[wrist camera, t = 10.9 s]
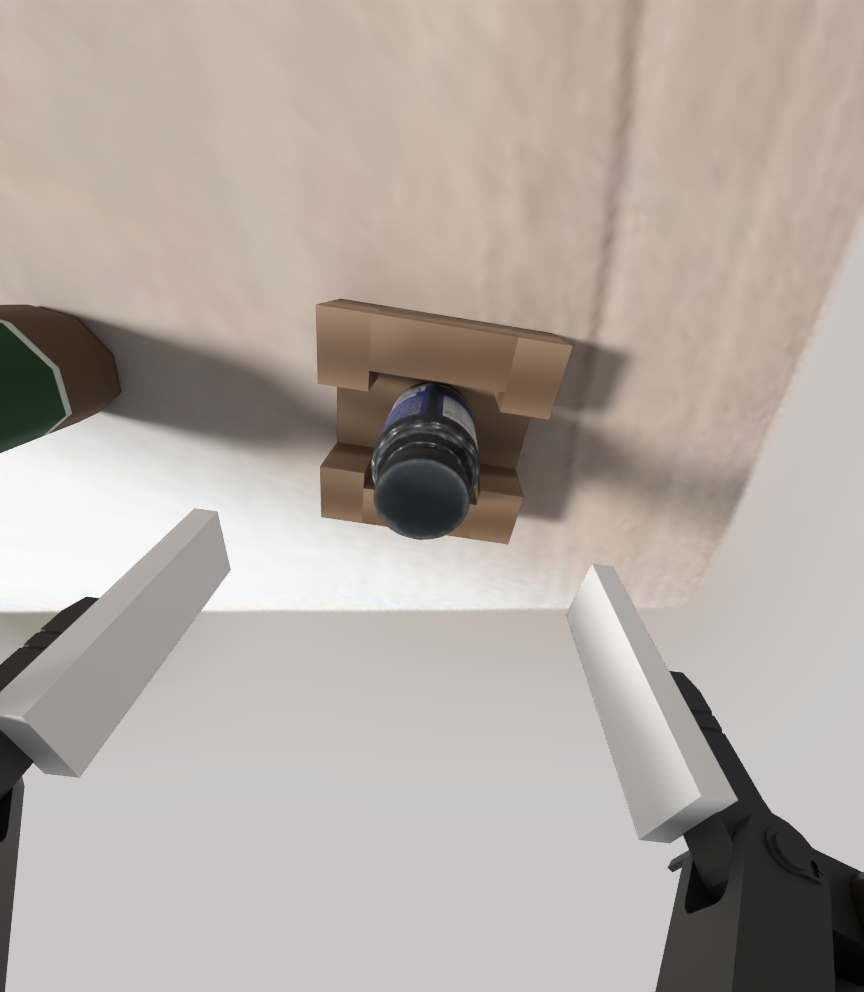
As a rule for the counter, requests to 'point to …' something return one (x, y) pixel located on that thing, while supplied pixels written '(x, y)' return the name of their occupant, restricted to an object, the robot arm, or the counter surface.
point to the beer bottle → (49, 373)
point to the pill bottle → (426, 462)
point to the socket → (442, 359)
